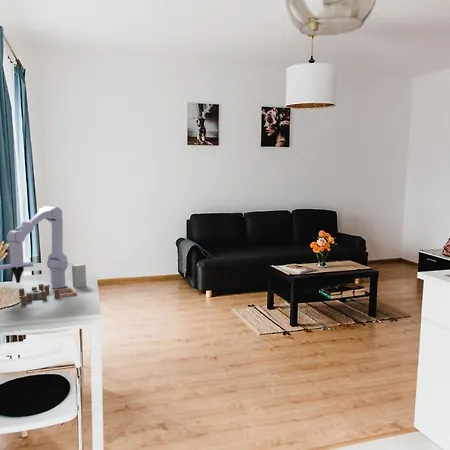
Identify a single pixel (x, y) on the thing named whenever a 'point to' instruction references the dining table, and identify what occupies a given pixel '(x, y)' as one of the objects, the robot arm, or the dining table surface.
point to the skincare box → (79, 275)
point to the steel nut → (36, 294)
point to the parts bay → (67, 293)
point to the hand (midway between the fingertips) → (18, 282)
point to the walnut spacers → (29, 295)
